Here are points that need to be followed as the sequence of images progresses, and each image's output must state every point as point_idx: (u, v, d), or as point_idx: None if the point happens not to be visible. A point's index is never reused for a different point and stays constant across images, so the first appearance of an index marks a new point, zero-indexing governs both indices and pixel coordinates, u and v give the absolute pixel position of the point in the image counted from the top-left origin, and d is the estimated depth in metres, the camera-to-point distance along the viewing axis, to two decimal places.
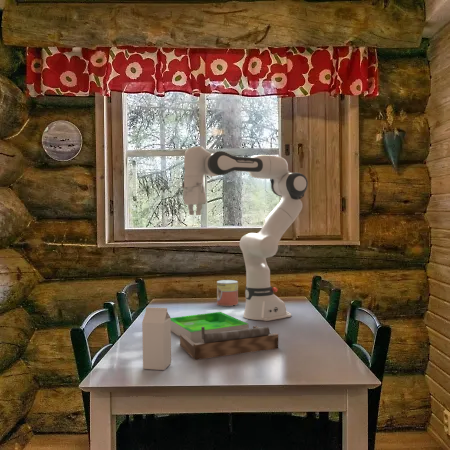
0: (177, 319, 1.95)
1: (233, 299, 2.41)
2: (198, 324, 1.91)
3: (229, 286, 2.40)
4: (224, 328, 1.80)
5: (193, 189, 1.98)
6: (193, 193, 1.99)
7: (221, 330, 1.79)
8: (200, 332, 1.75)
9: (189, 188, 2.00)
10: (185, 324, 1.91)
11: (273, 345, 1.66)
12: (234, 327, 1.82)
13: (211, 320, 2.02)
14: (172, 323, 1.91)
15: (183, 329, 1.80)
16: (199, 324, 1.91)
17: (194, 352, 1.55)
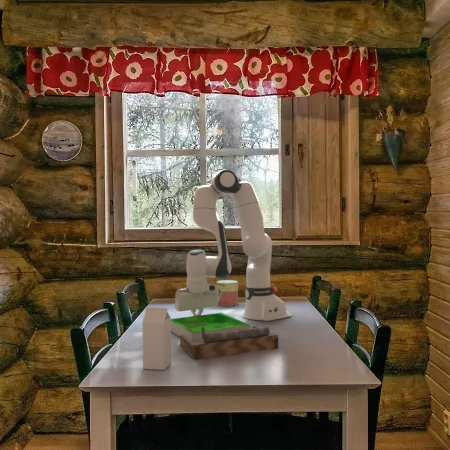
0: (178, 320, 1.94)
1: (233, 299, 2.41)
2: (199, 325, 1.90)
3: (229, 286, 2.40)
4: (225, 329, 1.79)
5: None
6: None
7: (222, 331, 1.78)
8: (201, 333, 1.74)
9: None
10: (186, 325, 1.90)
11: (273, 345, 1.66)
12: (235, 328, 1.81)
13: (212, 321, 2.01)
14: (173, 324, 1.90)
15: (184, 330, 1.79)
16: (200, 325, 1.90)
17: (194, 352, 1.55)
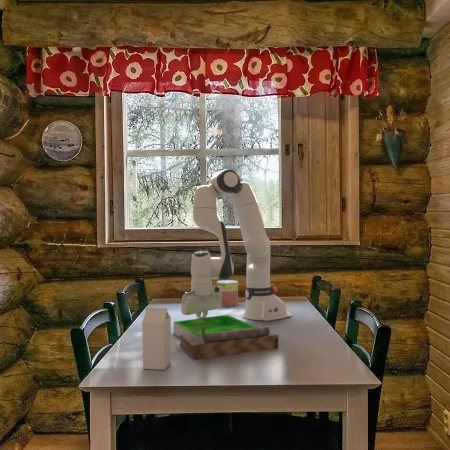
0: (183, 322, 1.88)
1: (233, 299, 2.41)
2: (205, 328, 1.84)
3: (229, 286, 2.40)
4: None
5: None
6: None
7: None
8: None
9: None
10: (192, 328, 1.84)
11: (273, 345, 1.66)
12: None
13: (218, 323, 1.95)
14: (178, 327, 1.83)
15: (190, 333, 1.73)
16: (206, 328, 1.84)
17: (194, 352, 1.55)
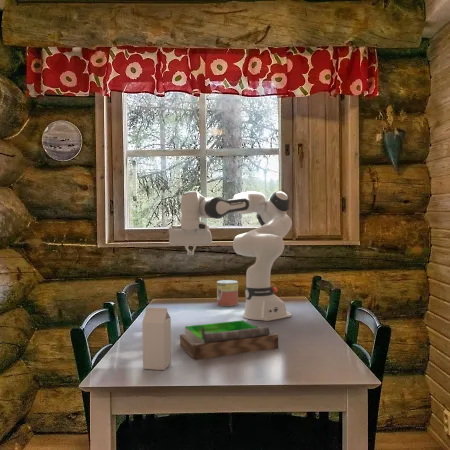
0: (195, 328, 1.81)
1: (233, 299, 2.41)
2: None
3: (229, 286, 2.40)
4: None
5: None
6: None
7: None
8: None
9: None
10: None
11: (273, 345, 1.66)
12: None
13: (232, 329, 1.86)
14: (189, 332, 1.76)
15: (199, 339, 1.65)
16: None
17: (194, 352, 1.55)
